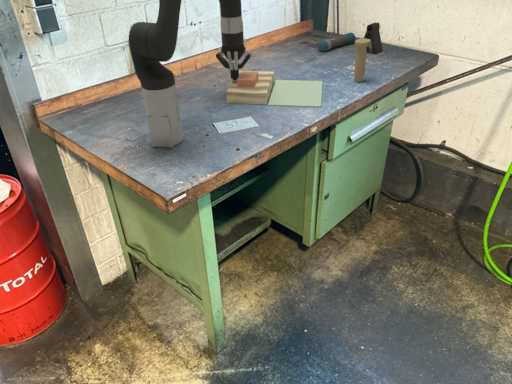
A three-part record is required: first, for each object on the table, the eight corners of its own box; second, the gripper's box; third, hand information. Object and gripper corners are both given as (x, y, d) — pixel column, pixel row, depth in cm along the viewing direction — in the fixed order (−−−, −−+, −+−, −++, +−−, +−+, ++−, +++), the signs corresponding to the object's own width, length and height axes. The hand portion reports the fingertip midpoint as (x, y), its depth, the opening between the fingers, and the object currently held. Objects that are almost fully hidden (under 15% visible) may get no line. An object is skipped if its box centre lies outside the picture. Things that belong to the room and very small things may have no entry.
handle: (348, 82, 162) (352, 41, 154) (357, 77, 166) (361, 37, 158) (359, 84, 160) (364, 43, 151) (368, 80, 164) (373, 39, 155)
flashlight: (355, 44, 205) (356, 33, 202) (323, 53, 193) (324, 42, 191) (347, 42, 208) (347, 31, 205) (315, 51, 197) (316, 40, 194)
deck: (266, 104, 147) (266, 93, 145) (226, 103, 149) (226, 92, 147) (274, 81, 165) (274, 71, 163) (238, 81, 167) (237, 70, 165)
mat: (321, 107, 144) (321, 106, 144) (267, 105, 146) (267, 104, 146) (322, 82, 163) (322, 81, 163) (275, 80, 166) (275, 79, 166)
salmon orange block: (254, 87, 150) (254, 80, 149) (237, 86, 151) (237, 80, 150) (258, 78, 157) (258, 71, 156) (242, 77, 158) (241, 71, 157)
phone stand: (358, 51, 195) (361, 23, 188) (365, 47, 198) (368, 20, 191) (375, 54, 189) (379, 26, 183) (382, 51, 193) (386, 23, 186)
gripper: (210, 32, 142) (214, 82, 152) (249, 32, 141) (251, 83, 151) (215, 26, 149) (219, 75, 158) (253, 27, 147) (254, 76, 157)
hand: (235, 79), depth 154 cm, fingers closed
